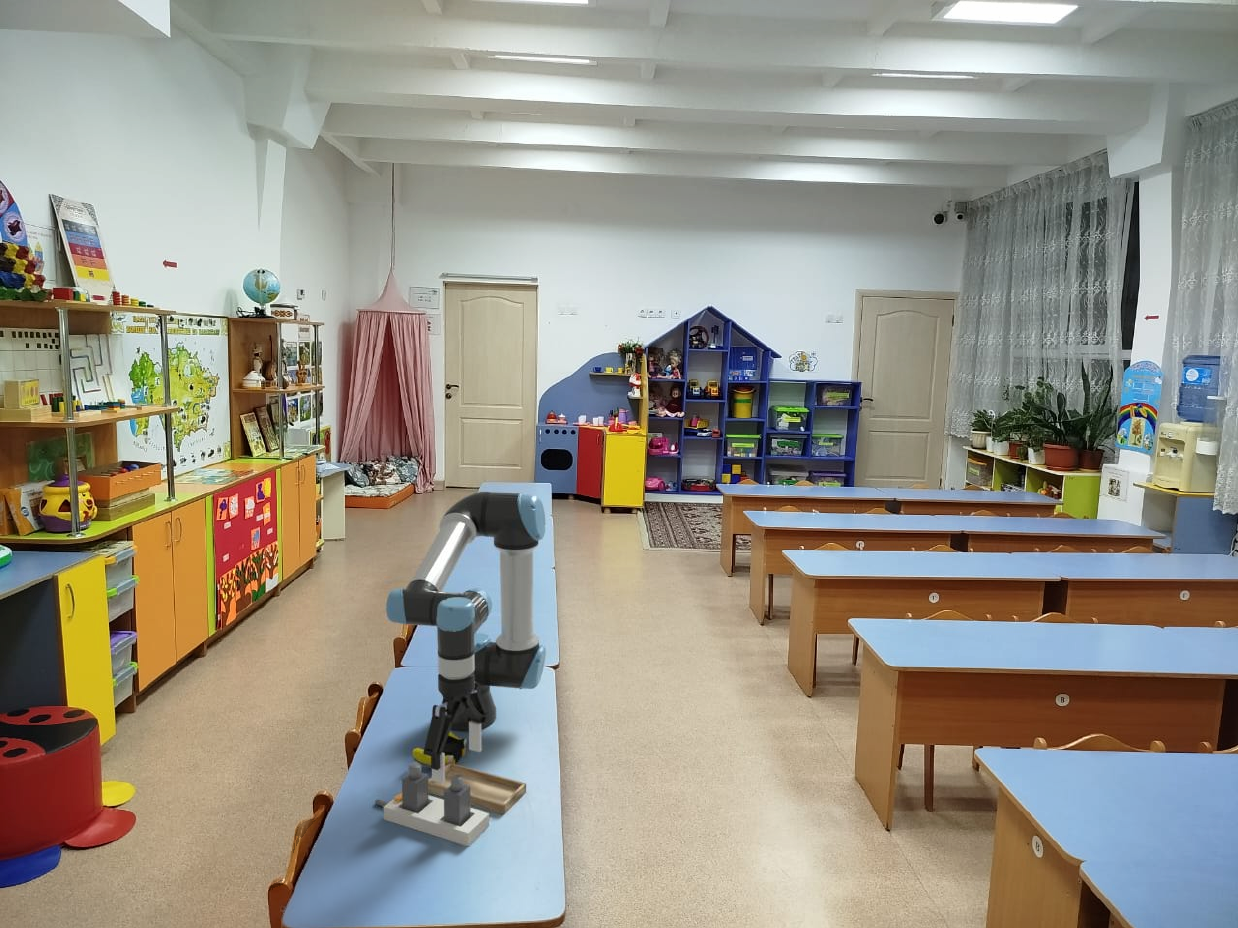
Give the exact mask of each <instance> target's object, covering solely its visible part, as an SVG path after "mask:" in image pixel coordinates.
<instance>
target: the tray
mask: <svg viewBox="0 0 1238 928" xmlns="http://www.w3.org/2000/svg"><path fill="white" fill-rule="evenodd" d="M454 775H462V776H463V784H464V785H467V786H470V806H474V807H477V808H481V809H483V810H487V811H491V812H493V813H496V814H500V815H505V814H506V813H507V812H508V811H509V810H510V809H511V808H512V807H513V806H514V805H515V804H516V803H517V802H518V801H519V800H520V799H521V798H522V797H523V796H524V795H525V794H526V793H527V783H526V782H522V781H520V780H516V779H511V778H507V777H504V776H500V775H497V774H493V773H489V772H485V771H482V770H478V769H476V768H471V767H468V766H463V765H461V764H458V763H456V764H454V763H449V764H448V765H447V766H445V783H443V784H442V783H439V782H435V781H432V777H431V778H428V794H432V795H437V796H440V797H443V798H444V790H446V789H447V788H448V787H449V786H450V785H451V777H452V776H454Z"/></svg>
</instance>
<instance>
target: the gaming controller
mask: <svg viewBox="0 0 1238 928" xmlns="http://www.w3.org/2000/svg"><path fill="white" fill-rule="evenodd" d="M467 741H468V739H466V738H463V737H462V738H459V737H458V736H457V735H455V734H454V733H453V732H452V731H450V732H449V735H448V738H447V740H446V743H445V746H444V748H443V751H442V752H443V753H445V766H447V765H448V764H449V763H454V764H458V763H459V761H460V760H461V759H462V757H464V756H466V744H467ZM412 750H413V751H412V759H413V761H414V762H415V763H419V764H421V767H426V768H428V769H429V768H430V769H432V768H431V756H428V755H424V754H423V751H424V749H422V748H419V747H416V748H414V749H412Z"/></svg>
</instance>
